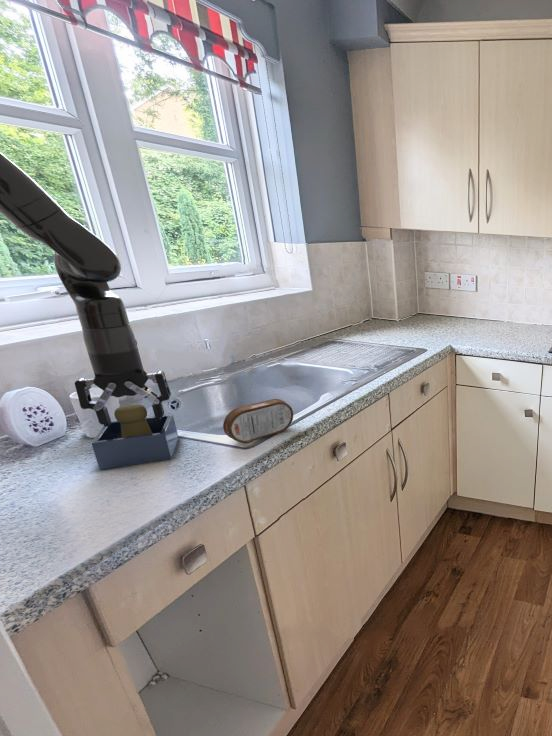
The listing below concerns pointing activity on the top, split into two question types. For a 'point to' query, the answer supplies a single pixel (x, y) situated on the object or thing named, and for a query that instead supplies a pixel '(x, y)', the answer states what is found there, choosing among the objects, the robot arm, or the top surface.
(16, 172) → the robot arm
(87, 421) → the white cup
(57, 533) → the top surface
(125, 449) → the holder
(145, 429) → the cork
